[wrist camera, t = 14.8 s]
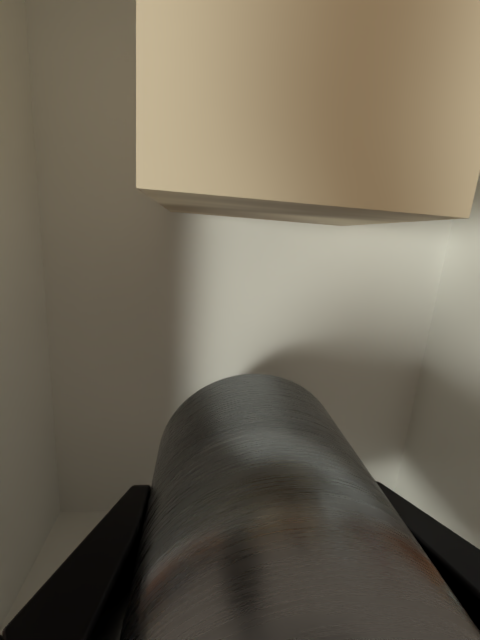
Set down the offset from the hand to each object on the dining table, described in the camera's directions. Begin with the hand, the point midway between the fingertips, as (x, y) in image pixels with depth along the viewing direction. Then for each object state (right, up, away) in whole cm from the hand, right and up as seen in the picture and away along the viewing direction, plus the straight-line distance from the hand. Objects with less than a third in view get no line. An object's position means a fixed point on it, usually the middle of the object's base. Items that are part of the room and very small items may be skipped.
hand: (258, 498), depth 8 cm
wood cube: (0, +10, +1) cm, 10 cm away
